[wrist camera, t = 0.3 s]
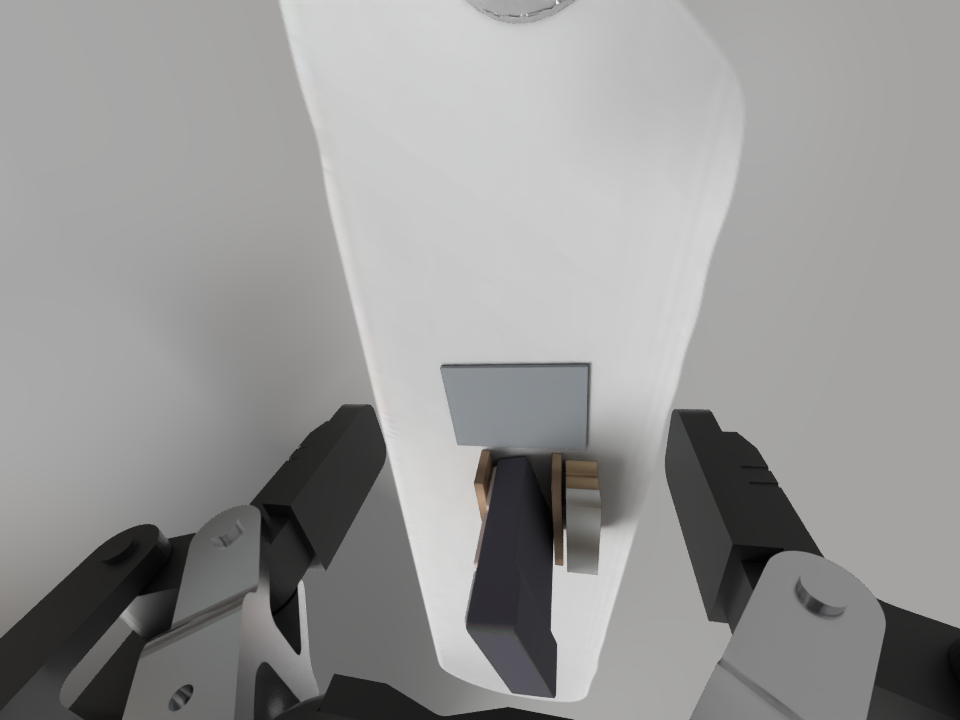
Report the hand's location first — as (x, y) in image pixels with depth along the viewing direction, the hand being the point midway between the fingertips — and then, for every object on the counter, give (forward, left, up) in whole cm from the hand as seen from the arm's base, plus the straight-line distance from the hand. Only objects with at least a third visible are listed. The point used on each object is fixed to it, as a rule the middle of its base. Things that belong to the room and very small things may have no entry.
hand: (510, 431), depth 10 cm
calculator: (+26, -3, -18) cm, 32 cm away
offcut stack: (+26, +3, -18) cm, 32 cm away
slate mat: (+14, -3, -18) cm, 23 cm away
